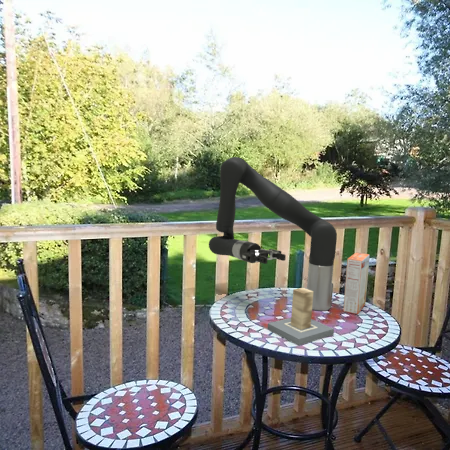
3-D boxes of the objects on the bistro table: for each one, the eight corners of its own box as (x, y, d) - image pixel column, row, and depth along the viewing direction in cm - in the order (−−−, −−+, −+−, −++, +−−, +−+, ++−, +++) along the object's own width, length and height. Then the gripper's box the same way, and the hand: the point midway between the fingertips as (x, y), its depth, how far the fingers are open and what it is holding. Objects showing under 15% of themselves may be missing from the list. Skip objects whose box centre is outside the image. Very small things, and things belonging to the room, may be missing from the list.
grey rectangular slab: (301, 320, 142) (302, 314, 141) (333, 334, 131) (334, 328, 130) (267, 329, 132) (267, 322, 132) (298, 345, 121) (299, 338, 121)
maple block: (300, 322, 134) (303, 287, 133) (310, 327, 131) (313, 291, 129) (290, 325, 132) (293, 289, 130) (300, 329, 128) (303, 293, 126)
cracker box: (350, 301, 165) (355, 251, 162) (365, 305, 162) (370, 254, 159) (341, 311, 153) (346, 257, 150) (358, 315, 150) (363, 260, 147)
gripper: (231, 243, 148) (260, 250, 135) (261, 239, 156) (291, 246, 143) (231, 263, 149) (260, 272, 136) (260, 258, 157) (290, 267, 144)
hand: (275, 259), depth 140 cm, fingers open, 8 cm apart
